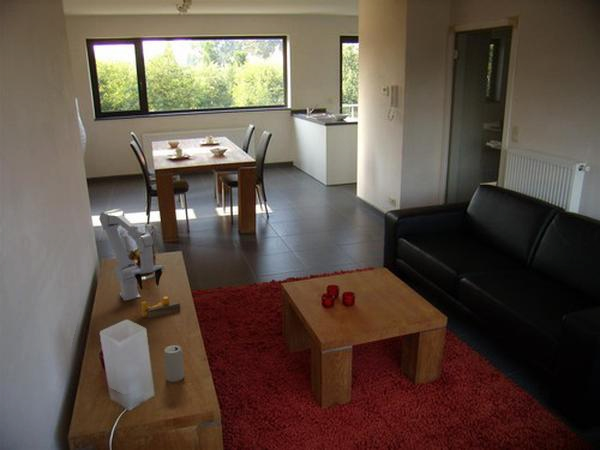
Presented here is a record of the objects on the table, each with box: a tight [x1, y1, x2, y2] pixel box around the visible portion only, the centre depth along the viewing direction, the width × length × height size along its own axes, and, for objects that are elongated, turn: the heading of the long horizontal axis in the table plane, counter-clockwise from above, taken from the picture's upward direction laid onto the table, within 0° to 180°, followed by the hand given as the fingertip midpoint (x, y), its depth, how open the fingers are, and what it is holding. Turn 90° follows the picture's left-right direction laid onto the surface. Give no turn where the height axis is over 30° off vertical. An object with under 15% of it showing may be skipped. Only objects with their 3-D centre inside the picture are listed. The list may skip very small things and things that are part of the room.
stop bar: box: [146, 301, 181, 319], centre depth 230 cm, size 2×15×4 cm, turn 123°
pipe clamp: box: [140, 295, 170, 318], centre depth 231 cm, size 12×4×6 cm, turn 123°
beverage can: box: [163, 344, 185, 383], centre depth 180 cm, size 6×6×12 cm
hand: (149, 286), depth 237 cm, fingers open, 7 cm apart
